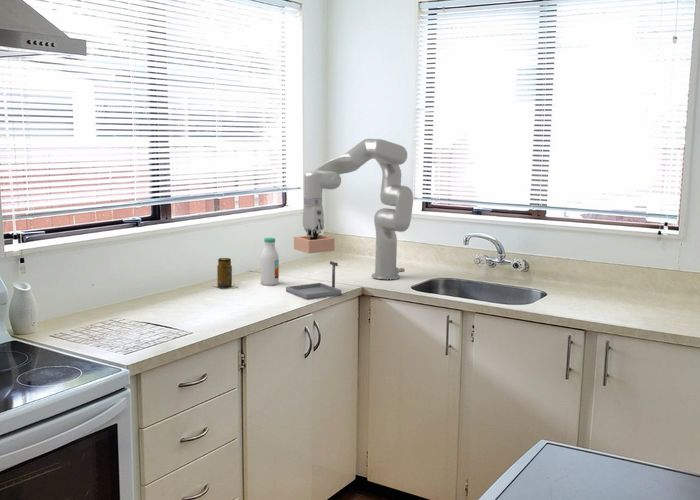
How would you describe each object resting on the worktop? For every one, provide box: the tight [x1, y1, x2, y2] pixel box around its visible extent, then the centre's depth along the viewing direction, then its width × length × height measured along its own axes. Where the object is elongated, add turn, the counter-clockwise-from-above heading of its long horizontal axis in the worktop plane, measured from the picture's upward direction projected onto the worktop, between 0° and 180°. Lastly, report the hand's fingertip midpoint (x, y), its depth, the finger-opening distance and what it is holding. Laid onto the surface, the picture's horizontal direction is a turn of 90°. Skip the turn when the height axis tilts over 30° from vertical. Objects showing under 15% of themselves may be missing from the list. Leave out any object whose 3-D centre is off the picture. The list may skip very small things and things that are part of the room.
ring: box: [293, 234, 335, 254], centre depth 310 cm, size 12×12×5 cm
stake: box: [329, 260, 339, 288], centre depth 323 cm, size 1×5×11 cm, turn 34°
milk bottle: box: [260, 237, 280, 286], centre depth 329 cm, size 8×8×20 cm
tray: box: [285, 282, 342, 300], centre depth 313 cm, size 17×17×2 cm
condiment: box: [212, 257, 237, 290], centre depth 322 cm, size 7×8×12 cm
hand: (312, 246), depth 316 cm, fingers closed on ring, 1 cm apart
